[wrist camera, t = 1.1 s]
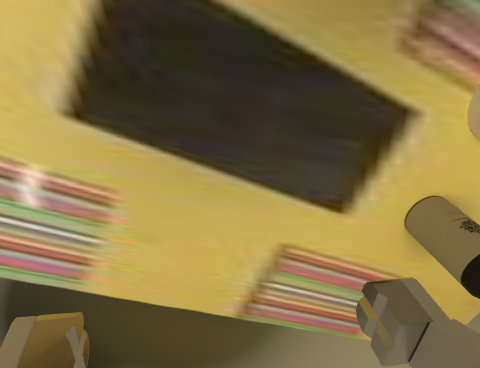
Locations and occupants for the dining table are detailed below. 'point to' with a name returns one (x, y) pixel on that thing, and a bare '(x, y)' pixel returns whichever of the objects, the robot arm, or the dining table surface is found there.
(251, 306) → the dining table surface
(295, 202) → the dining table surface
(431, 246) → the travel mug
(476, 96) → the honey pot
